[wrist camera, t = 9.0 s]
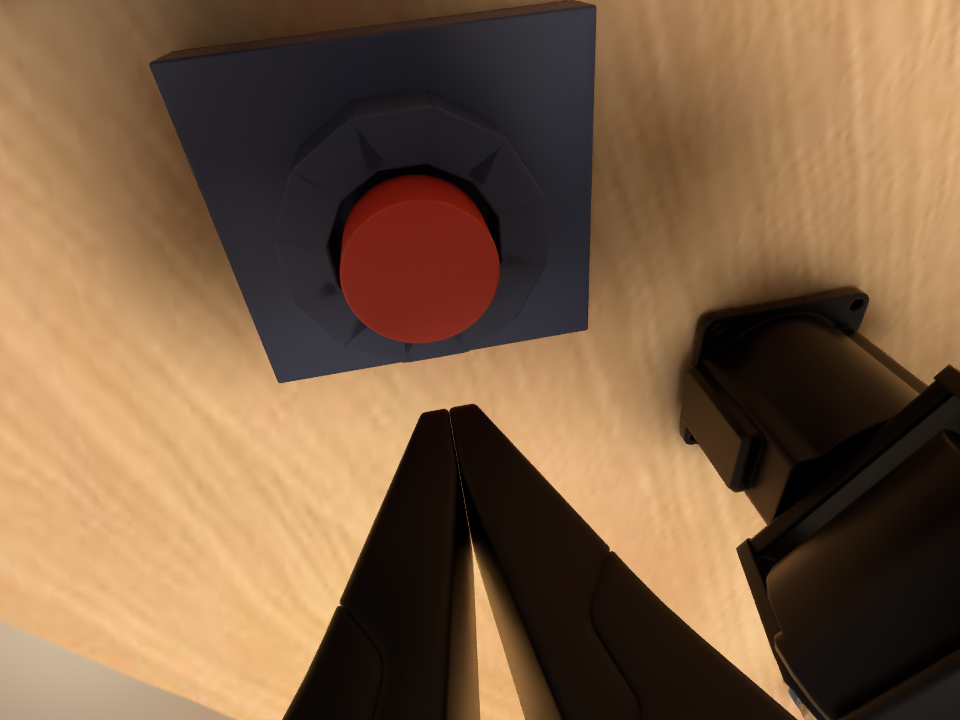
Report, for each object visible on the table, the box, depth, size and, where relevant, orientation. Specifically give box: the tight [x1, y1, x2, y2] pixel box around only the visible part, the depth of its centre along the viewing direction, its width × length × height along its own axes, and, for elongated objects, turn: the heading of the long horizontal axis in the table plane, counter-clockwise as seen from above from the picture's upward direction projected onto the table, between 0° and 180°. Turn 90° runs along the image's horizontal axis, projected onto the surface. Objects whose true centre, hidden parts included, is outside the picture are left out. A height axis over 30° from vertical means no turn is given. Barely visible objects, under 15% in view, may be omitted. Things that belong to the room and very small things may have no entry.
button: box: [340, 174, 500, 343], centre depth 13 cm, size 4×4×2 cm
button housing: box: [150, 0, 596, 383], centre depth 15 cm, size 10×9×4 cm
